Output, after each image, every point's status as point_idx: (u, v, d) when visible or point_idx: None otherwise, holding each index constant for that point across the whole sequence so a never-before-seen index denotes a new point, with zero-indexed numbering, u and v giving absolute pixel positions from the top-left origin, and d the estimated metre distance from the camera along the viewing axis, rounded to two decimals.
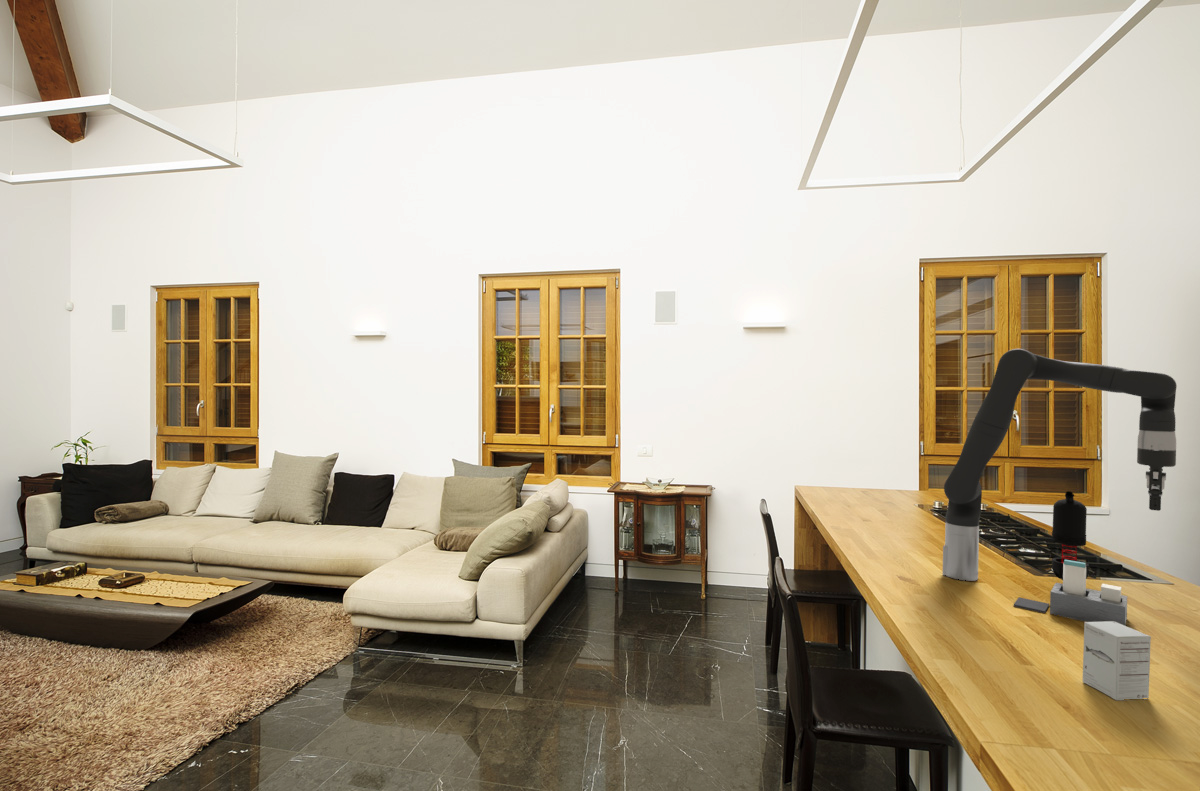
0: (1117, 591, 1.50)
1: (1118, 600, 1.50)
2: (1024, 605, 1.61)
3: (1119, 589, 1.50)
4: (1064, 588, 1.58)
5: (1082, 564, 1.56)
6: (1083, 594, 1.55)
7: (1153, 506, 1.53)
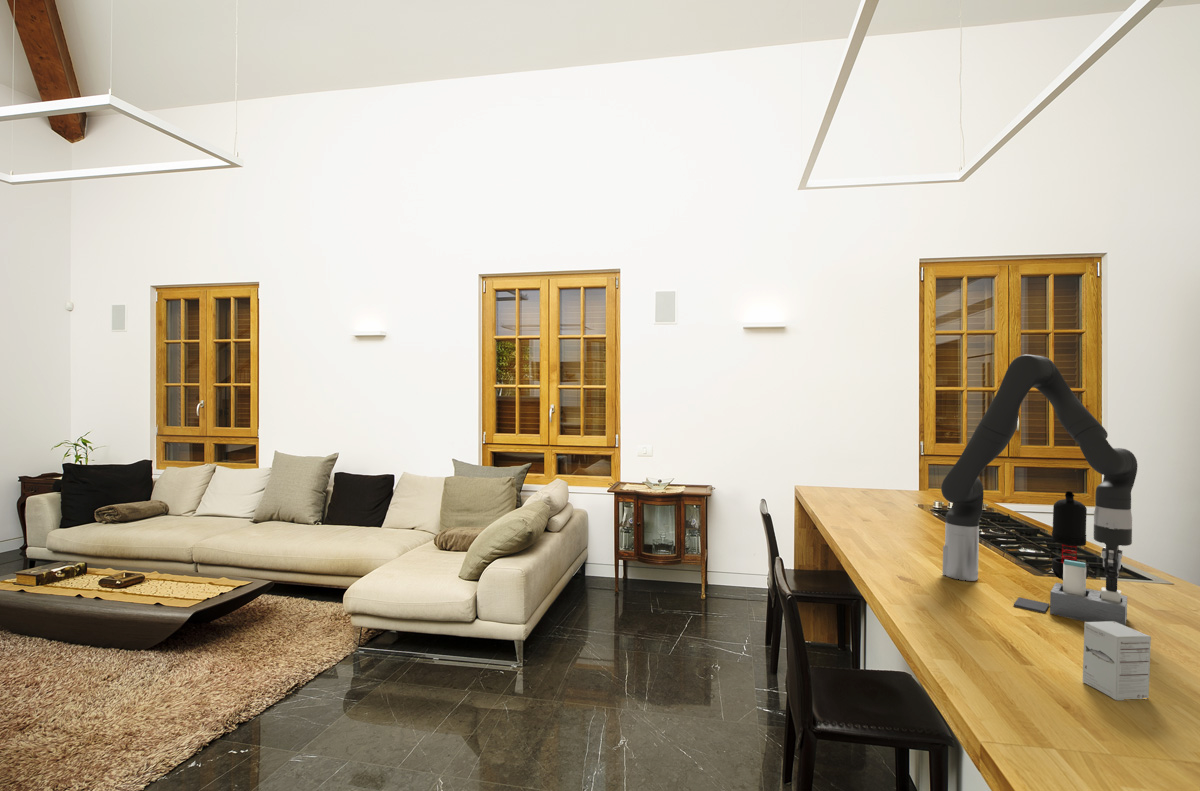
0: (1117, 595, 1.50)
1: None
2: (1024, 605, 1.61)
3: (1119, 593, 1.50)
4: (1064, 588, 1.58)
5: (1082, 564, 1.56)
6: (1083, 594, 1.55)
7: (1109, 587, 1.51)
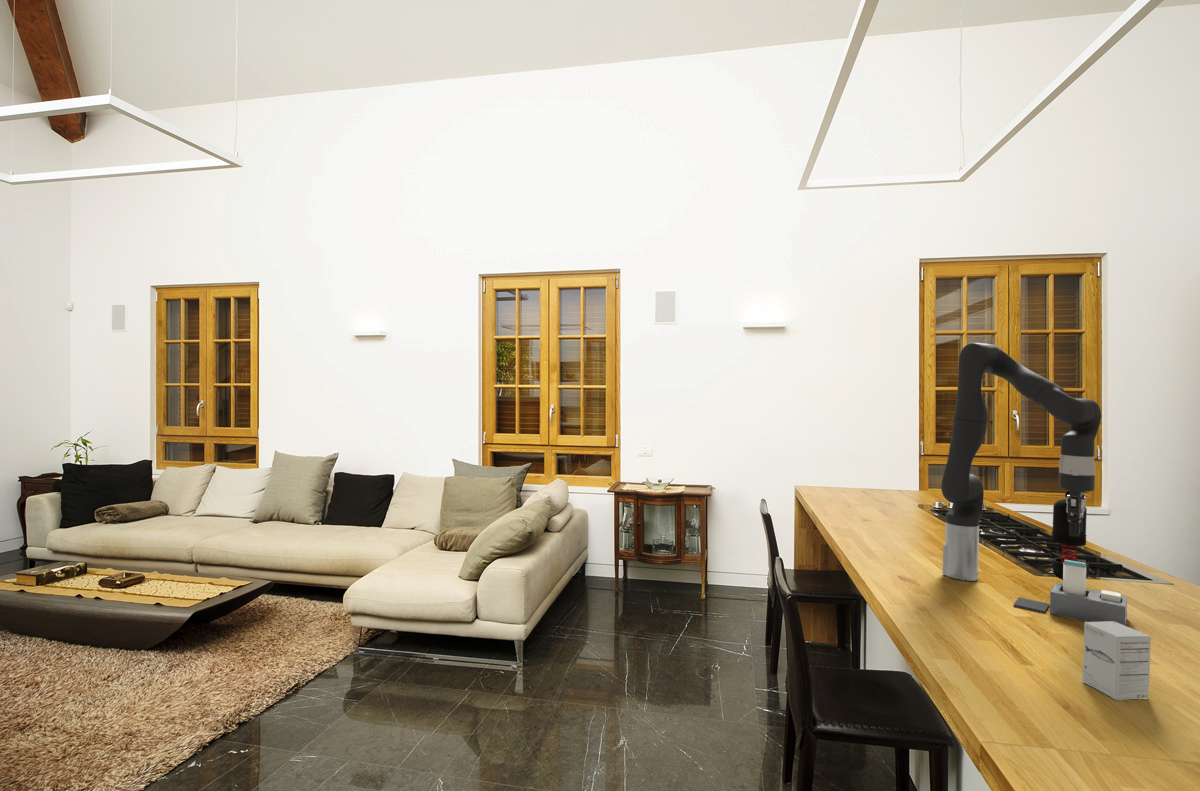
0: (1117, 597, 1.50)
1: None
2: (1024, 605, 1.61)
3: (1119, 595, 1.50)
4: (1064, 588, 1.58)
5: (1082, 564, 1.56)
6: (1083, 594, 1.55)
7: (1072, 532, 1.54)
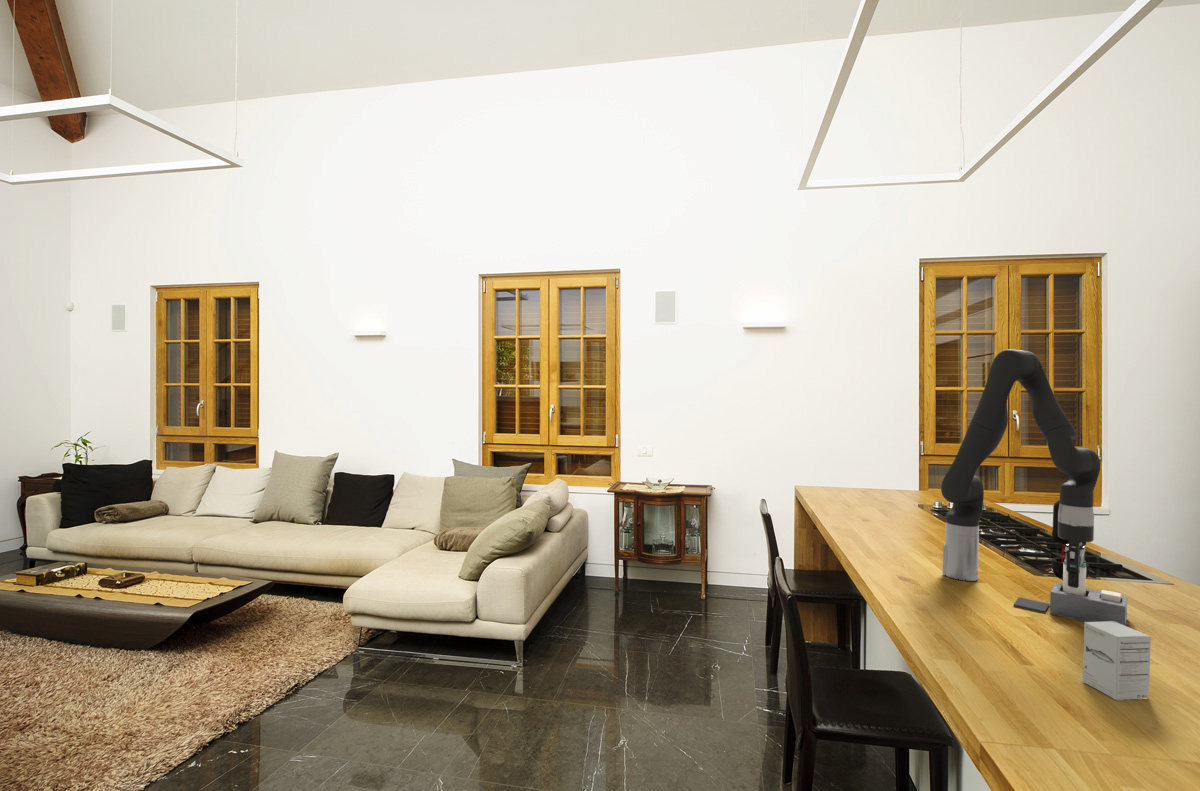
0: (1117, 597, 1.50)
1: None
2: (1024, 605, 1.61)
3: (1119, 595, 1.50)
4: (1064, 588, 1.58)
5: (1082, 564, 1.56)
6: (1083, 594, 1.55)
7: (1071, 583, 1.55)
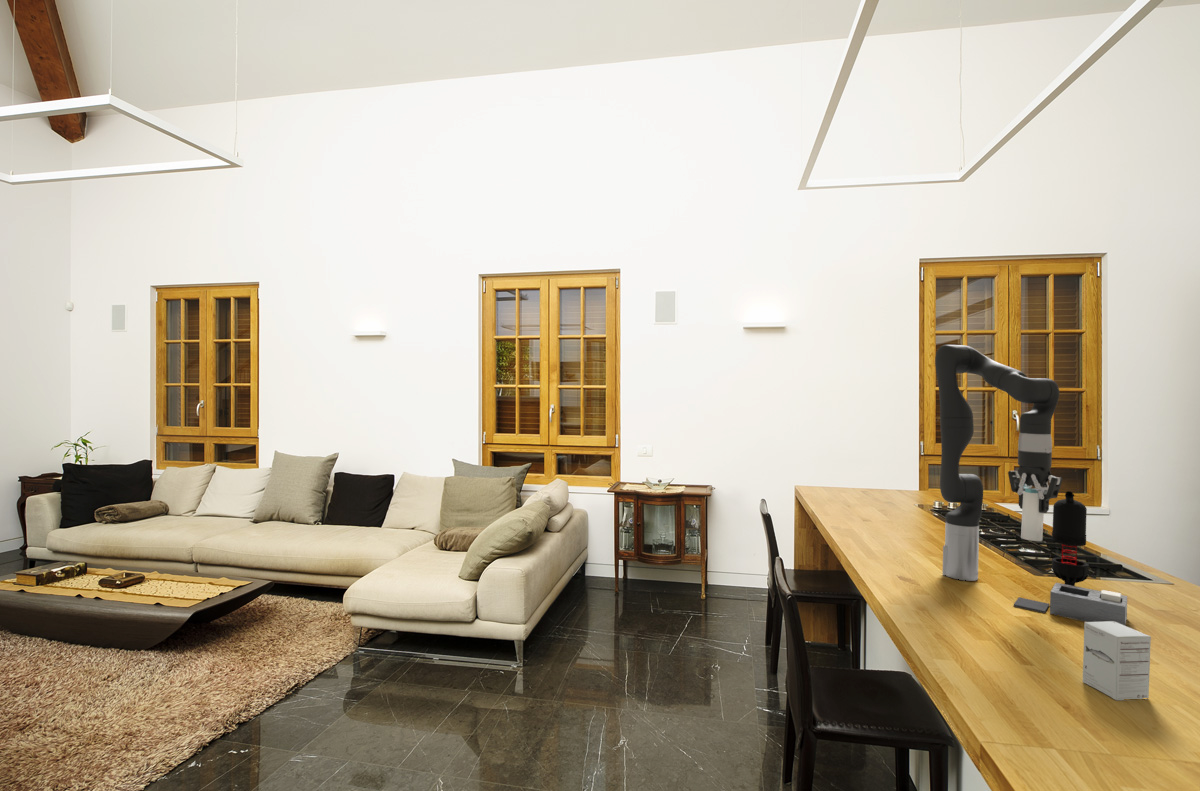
0: (1117, 597, 1.50)
1: None
2: (1024, 605, 1.61)
3: (1119, 595, 1.50)
4: (1032, 516, 1.60)
5: None
6: None
7: (1045, 509, 1.58)
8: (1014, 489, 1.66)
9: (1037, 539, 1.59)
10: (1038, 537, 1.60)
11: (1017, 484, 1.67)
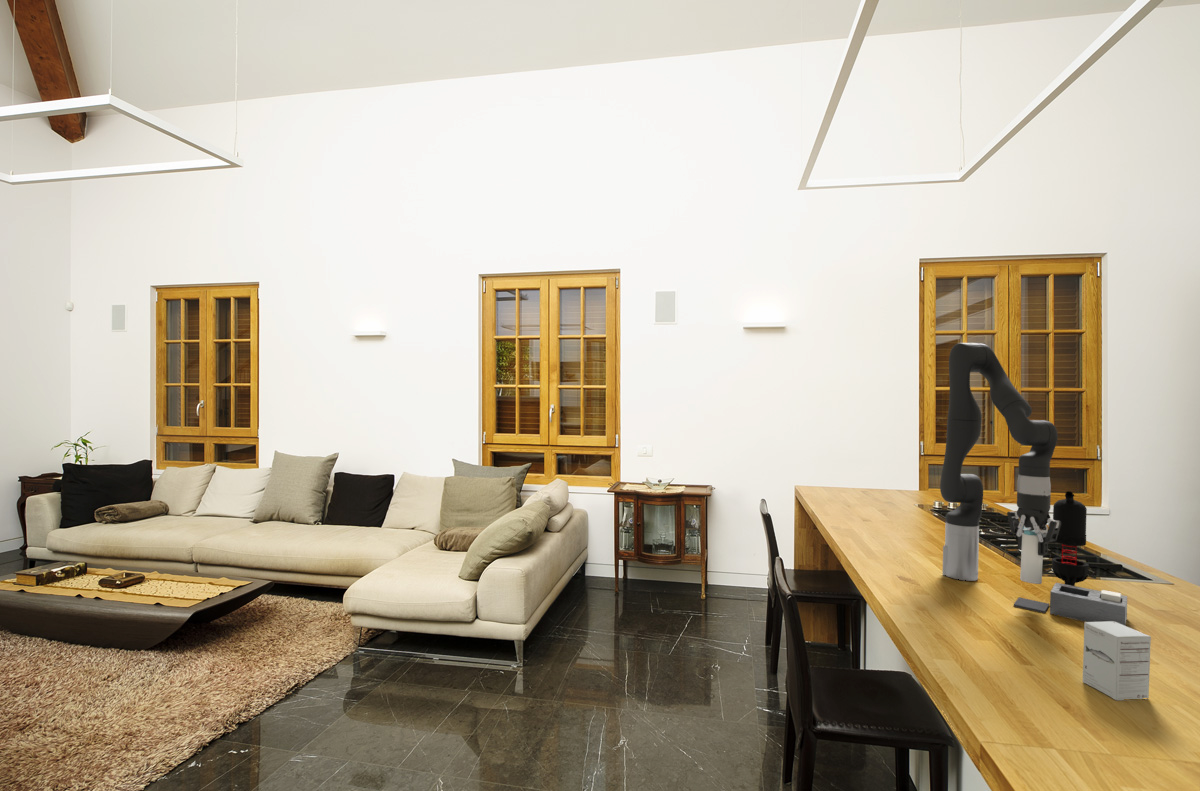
0: (1117, 597, 1.50)
1: None
2: (1024, 605, 1.61)
3: (1119, 595, 1.50)
4: (1031, 559, 1.60)
5: None
6: None
7: (1044, 552, 1.58)
8: (1013, 530, 1.66)
9: (1036, 582, 1.59)
10: (1037, 580, 1.59)
11: (1016, 525, 1.67)
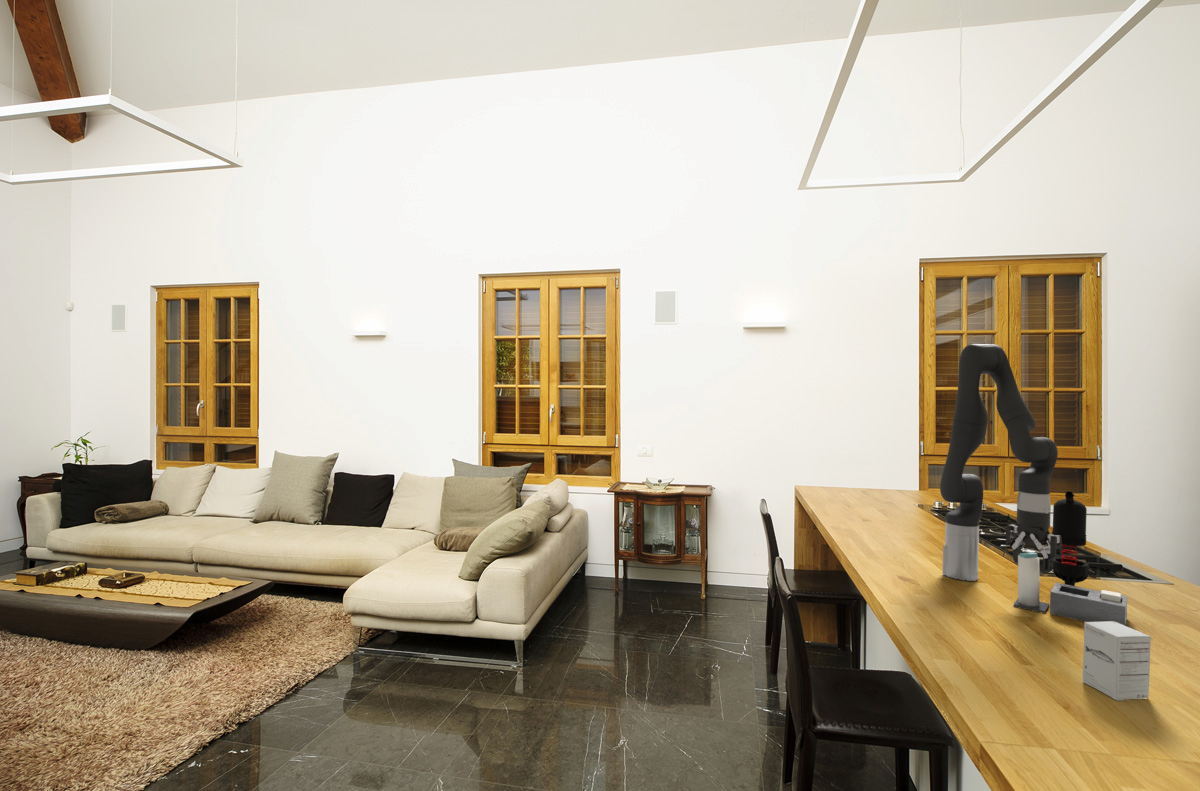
0: (1117, 597, 1.50)
1: None
2: (1024, 605, 1.61)
3: (1119, 595, 1.50)
4: (1028, 581, 1.61)
5: (1035, 554, 1.62)
6: None
7: (1049, 568, 1.57)
8: (1009, 543, 1.67)
9: (1034, 604, 1.60)
10: (1035, 602, 1.60)
11: (1013, 538, 1.68)
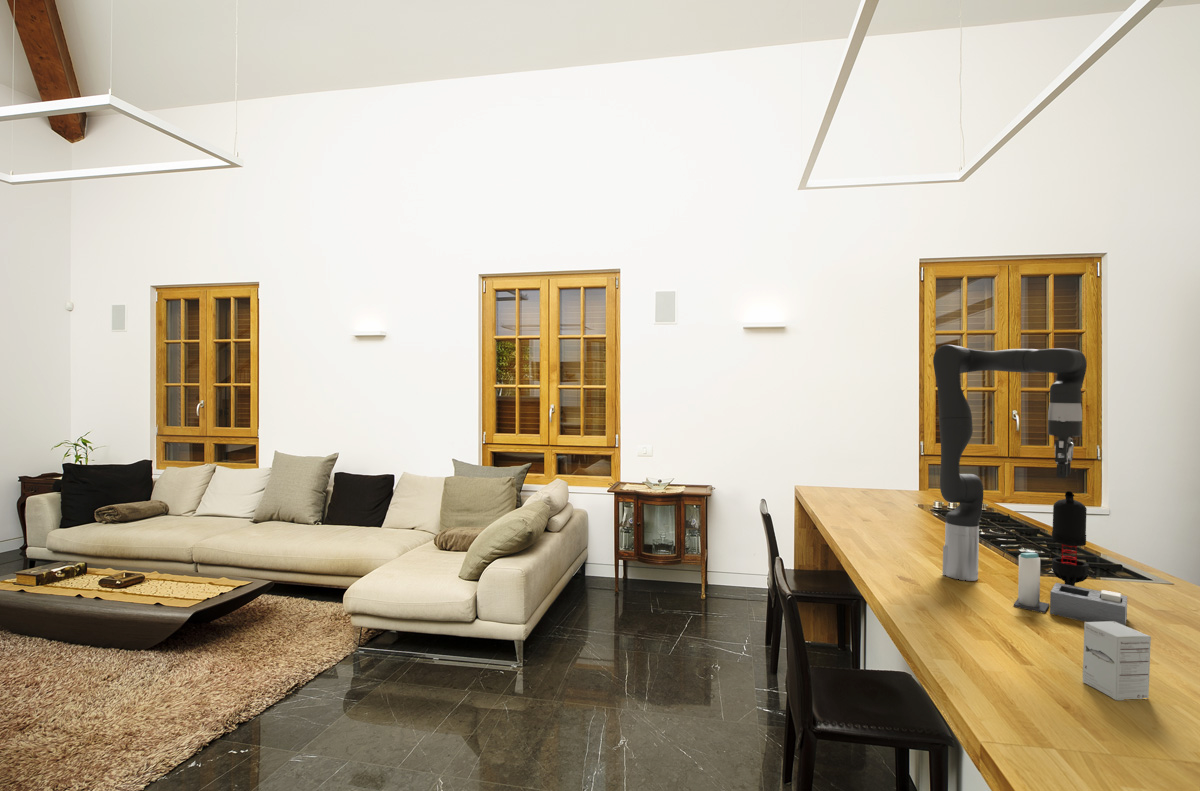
0: (1117, 597, 1.50)
1: None
2: (1024, 605, 1.61)
3: (1119, 595, 1.50)
4: (1028, 582, 1.61)
5: (1036, 554, 1.62)
6: None
7: (1060, 474, 1.61)
8: None
9: (1034, 604, 1.60)
10: (1035, 602, 1.60)
11: None
